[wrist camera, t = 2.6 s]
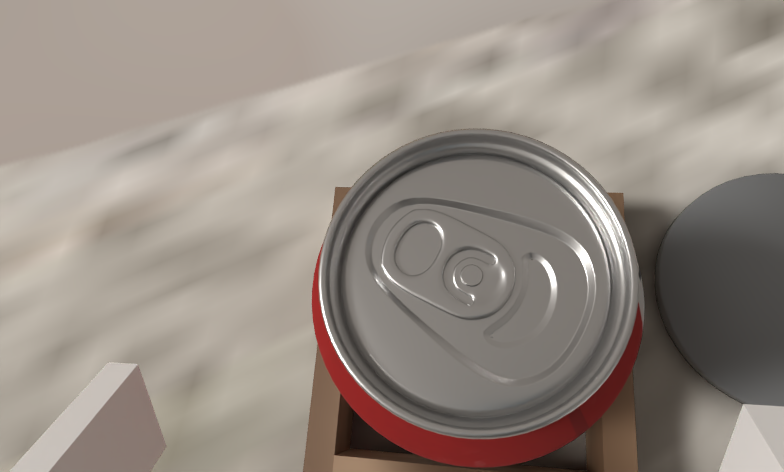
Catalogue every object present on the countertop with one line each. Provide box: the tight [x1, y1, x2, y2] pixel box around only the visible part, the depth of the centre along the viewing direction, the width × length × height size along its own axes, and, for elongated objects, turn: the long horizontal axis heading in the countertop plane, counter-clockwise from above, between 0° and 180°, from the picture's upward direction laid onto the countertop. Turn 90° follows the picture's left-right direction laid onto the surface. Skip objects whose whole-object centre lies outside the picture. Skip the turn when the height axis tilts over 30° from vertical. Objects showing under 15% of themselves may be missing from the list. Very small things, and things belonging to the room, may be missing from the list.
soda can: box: [312, 129, 645, 467], centre depth 15 cm, size 7×7×12 cm
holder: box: [303, 187, 638, 472], centre depth 19 cm, size 11×11×2 cm
